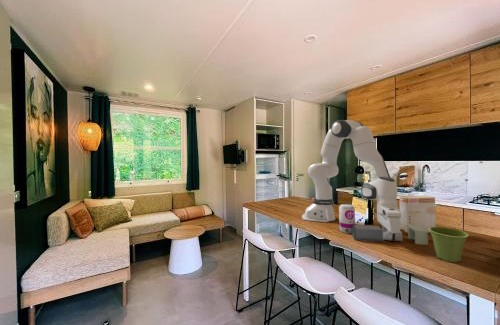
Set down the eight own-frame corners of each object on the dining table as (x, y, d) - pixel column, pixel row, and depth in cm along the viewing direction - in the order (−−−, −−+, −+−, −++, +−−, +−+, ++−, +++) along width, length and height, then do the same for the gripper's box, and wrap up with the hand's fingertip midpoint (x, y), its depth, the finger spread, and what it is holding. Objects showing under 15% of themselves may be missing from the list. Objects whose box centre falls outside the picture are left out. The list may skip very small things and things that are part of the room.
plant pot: (443, 265, 82) (442, 236, 82) (422, 251, 94) (422, 226, 93) (477, 266, 80) (477, 237, 80) (452, 252, 92) (452, 226, 92)
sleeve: (354, 240, 109) (354, 228, 109) (351, 235, 115) (351, 224, 115) (383, 241, 106) (382, 229, 106) (378, 236, 112) (378, 225, 112)
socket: (416, 244, 102) (415, 230, 102) (408, 238, 109) (408, 225, 109) (428, 244, 101) (427, 231, 101) (419, 238, 108) (419, 226, 108)
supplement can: (358, 233, 118) (357, 206, 118) (343, 234, 118) (342, 207, 118) (350, 228, 126) (350, 203, 126) (337, 229, 126) (336, 204, 126)
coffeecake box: (426, 228, 123) (426, 195, 122) (436, 233, 115) (435, 197, 115) (399, 228, 124) (398, 195, 124) (407, 232, 117) (406, 197, 117)
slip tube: (356, 239, 109) (356, 230, 109) (353, 235, 115) (353, 226, 115) (403, 241, 104) (402, 232, 104) (398, 237, 110) (397, 228, 110)
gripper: (373, 204, 119) (374, 228, 119) (387, 213, 99) (388, 243, 99) (386, 204, 117) (386, 229, 118) (403, 214, 97) (403, 244, 98)
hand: (387, 235), depth 108 cm, fingers closed on slip tube, 4 cm apart
